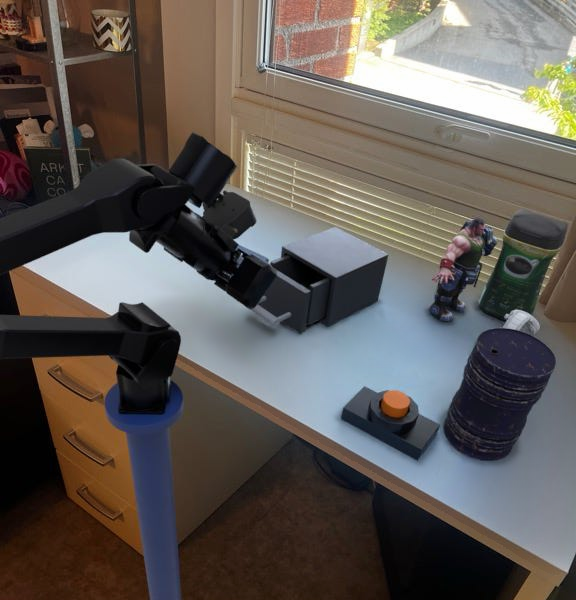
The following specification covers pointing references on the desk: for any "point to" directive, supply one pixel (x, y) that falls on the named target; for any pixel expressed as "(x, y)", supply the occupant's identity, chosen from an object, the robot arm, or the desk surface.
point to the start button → (395, 403)
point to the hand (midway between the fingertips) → (247, 283)
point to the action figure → (461, 267)
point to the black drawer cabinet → (342, 270)
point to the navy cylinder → (497, 393)
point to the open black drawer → (294, 295)
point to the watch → (521, 322)
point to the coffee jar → (522, 263)
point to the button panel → (390, 423)
